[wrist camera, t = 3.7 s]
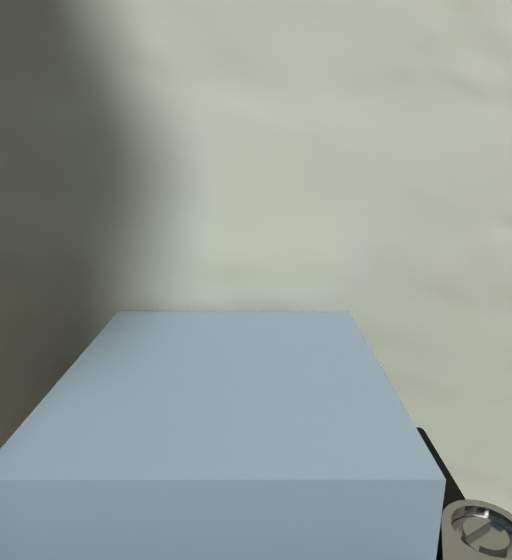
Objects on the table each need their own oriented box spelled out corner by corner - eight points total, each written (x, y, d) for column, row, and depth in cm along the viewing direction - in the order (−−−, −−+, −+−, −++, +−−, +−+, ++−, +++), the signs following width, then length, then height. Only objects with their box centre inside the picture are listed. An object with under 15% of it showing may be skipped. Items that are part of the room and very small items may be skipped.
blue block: (348, 310, 11) (446, 480, 6) (338, 503, 13) (405, 794, 7) (118, 311, 11) (-27, 480, 6) (134, 503, 13) (34, 795, 7)
